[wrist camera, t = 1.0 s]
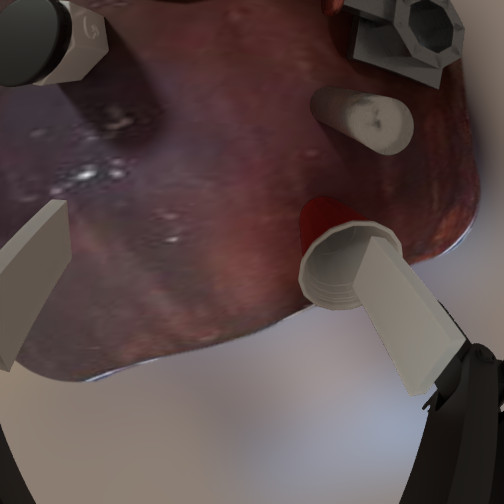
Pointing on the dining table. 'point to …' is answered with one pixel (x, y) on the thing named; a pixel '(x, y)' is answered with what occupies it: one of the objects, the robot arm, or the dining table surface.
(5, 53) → the jar
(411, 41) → the valve body
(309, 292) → the plastic cup
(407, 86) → the dining table surface
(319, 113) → the pipe stub
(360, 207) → the dining table surface
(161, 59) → the dining table surface
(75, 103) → the dining table surface
